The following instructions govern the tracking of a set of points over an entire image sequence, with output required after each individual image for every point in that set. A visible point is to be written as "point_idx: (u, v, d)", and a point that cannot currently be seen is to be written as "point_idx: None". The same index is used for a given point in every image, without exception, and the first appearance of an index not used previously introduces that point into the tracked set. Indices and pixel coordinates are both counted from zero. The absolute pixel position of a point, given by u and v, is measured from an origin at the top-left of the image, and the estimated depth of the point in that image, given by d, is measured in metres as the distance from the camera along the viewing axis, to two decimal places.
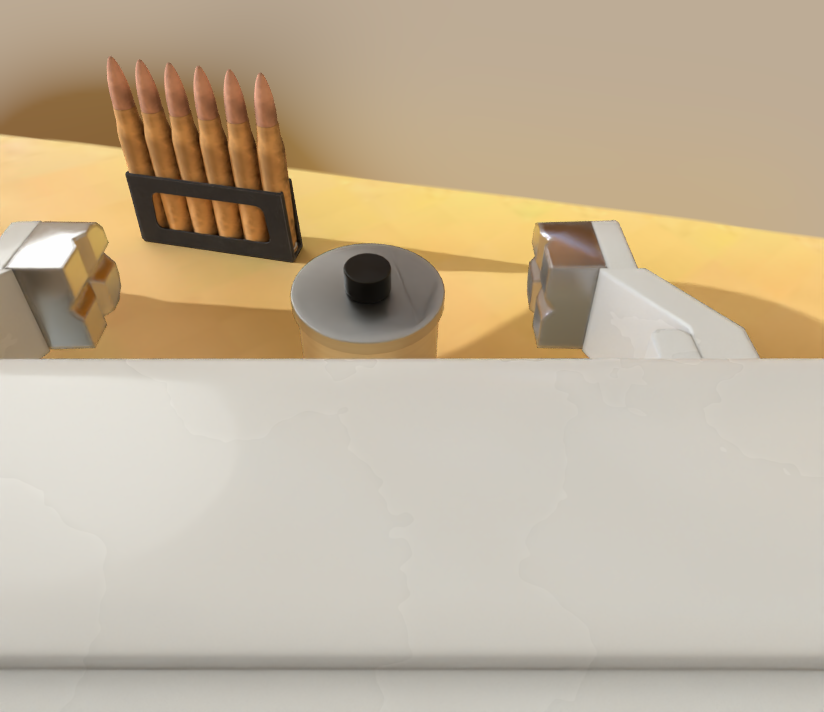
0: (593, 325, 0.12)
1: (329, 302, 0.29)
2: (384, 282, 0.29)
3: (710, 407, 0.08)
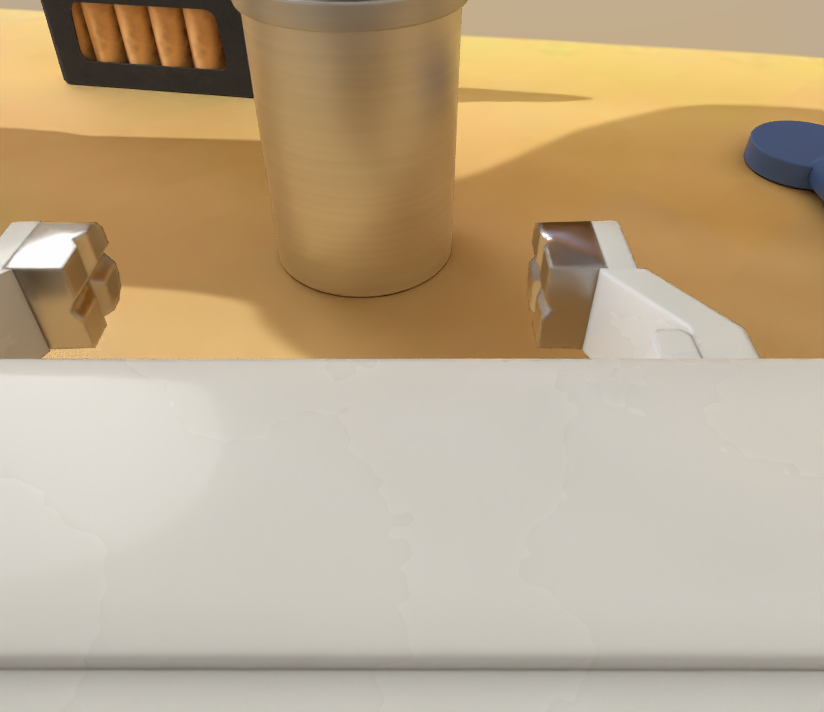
0: (593, 325, 0.12)
1: None
2: None
3: (710, 407, 0.08)
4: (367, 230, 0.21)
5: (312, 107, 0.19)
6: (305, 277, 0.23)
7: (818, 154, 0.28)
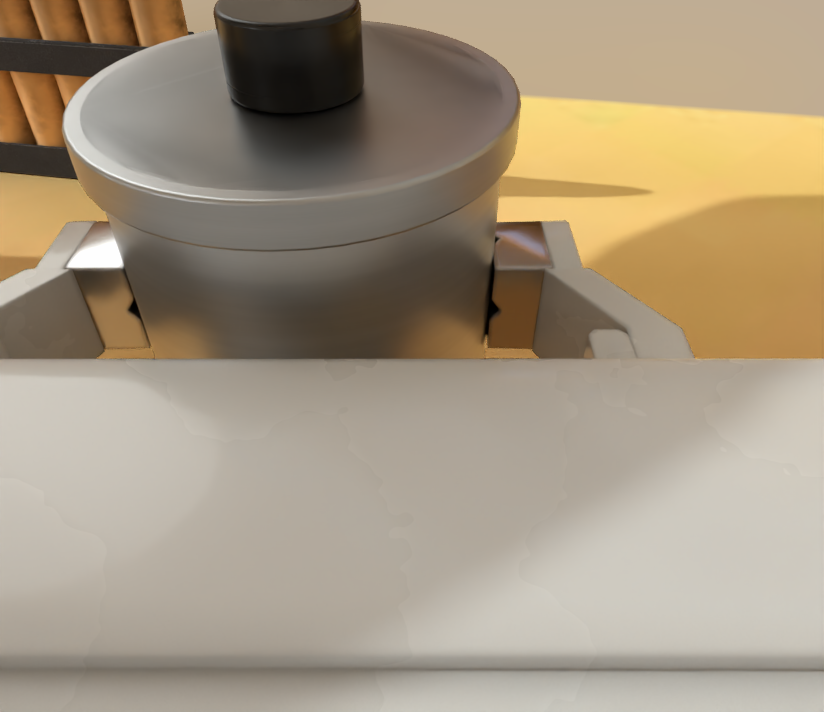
0: (541, 325, 0.12)
1: (175, 114, 0.10)
2: (339, 38, 0.09)
3: (710, 407, 0.08)
4: None
5: (224, 356, 0.10)
6: None
7: None
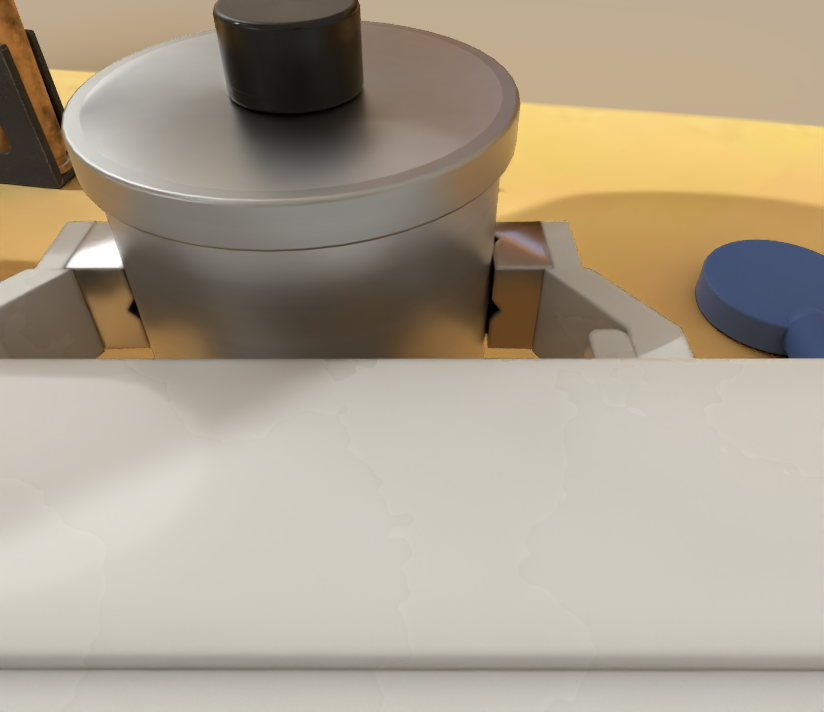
0: (541, 325, 0.12)
1: (174, 114, 0.10)
2: (339, 38, 0.09)
3: (710, 407, 0.08)
4: None
5: (223, 357, 0.10)
6: None
7: (798, 303, 0.19)
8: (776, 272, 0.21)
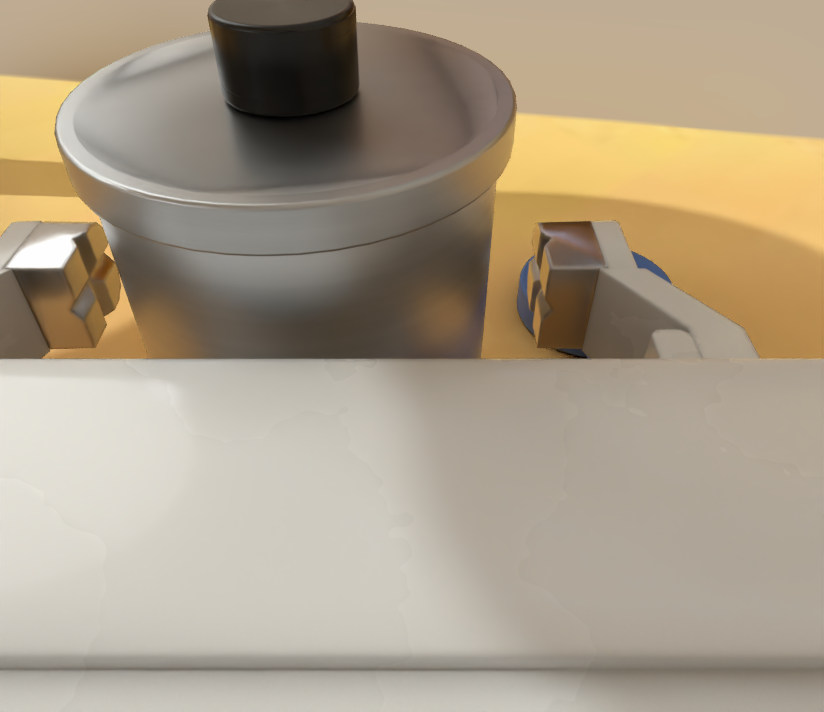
0: (593, 325, 0.12)
1: (169, 117, 0.10)
2: (334, 41, 0.09)
3: (710, 407, 0.08)
4: None
5: None
6: None
7: None
8: None
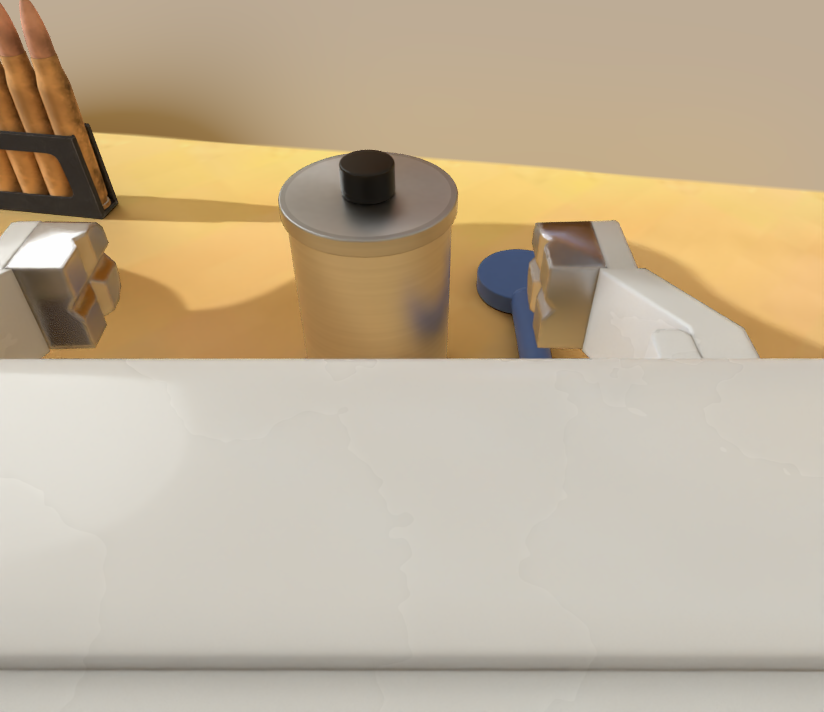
0: (593, 325, 0.12)
1: (323, 204, 0.25)
2: (387, 177, 0.25)
3: (710, 407, 0.08)
4: None
5: (340, 299, 0.25)
6: None
7: (523, 285, 0.35)
8: (519, 268, 0.36)
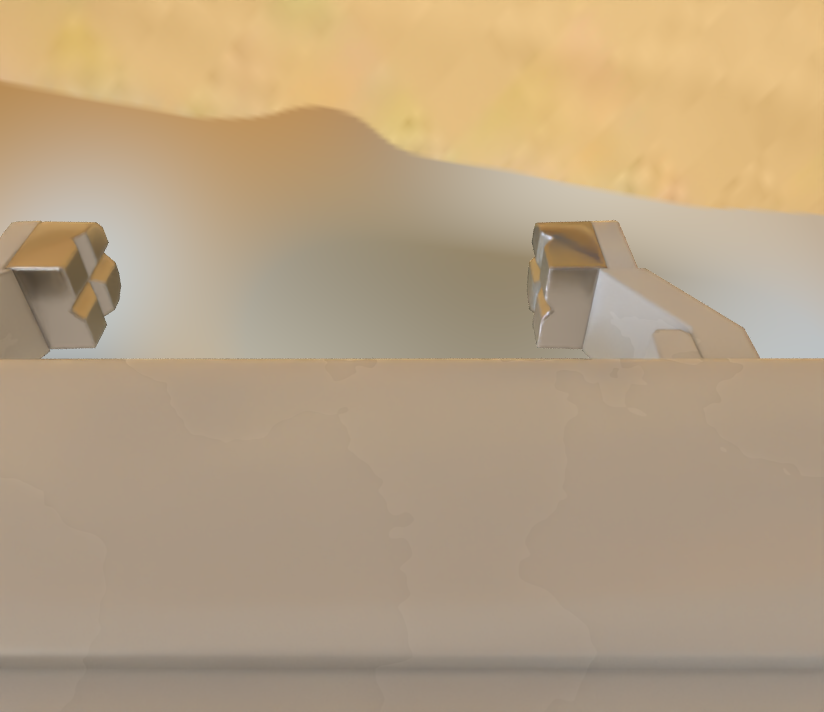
0: (593, 325, 0.12)
1: None
2: None
3: (710, 407, 0.08)
4: None
5: None
6: None
7: None
8: None
